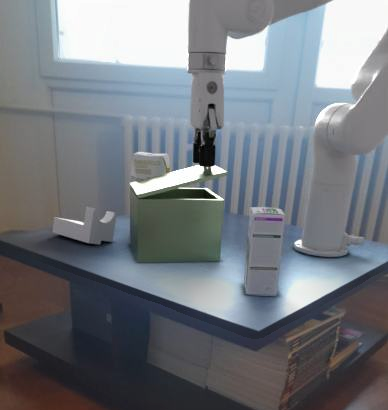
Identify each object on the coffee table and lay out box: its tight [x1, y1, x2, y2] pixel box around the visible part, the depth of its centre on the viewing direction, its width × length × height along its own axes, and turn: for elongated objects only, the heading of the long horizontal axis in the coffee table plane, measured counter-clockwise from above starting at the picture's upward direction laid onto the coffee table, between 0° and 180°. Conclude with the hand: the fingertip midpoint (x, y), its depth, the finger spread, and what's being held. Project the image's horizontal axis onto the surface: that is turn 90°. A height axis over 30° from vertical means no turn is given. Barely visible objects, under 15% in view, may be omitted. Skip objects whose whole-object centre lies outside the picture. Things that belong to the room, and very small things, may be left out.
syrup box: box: [243, 206, 286, 297], centre depth 88 cm, size 6×6×14 cm
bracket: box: [51, 206, 118, 245], centre depth 117 cm, size 13×7×8 cm, turn 51°
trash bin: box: [129, 186, 225, 264], centre depth 108 cm, size 18×15×13 cm
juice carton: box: [130, 151, 171, 183], centre depth 121 cm, size 8×9×19 cm
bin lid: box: [129, 146, 228, 199], centre depth 103 cm, size 18×15×5 cm
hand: (203, 163), depth 104 cm, fingers closed on bin lid, 5 cm apart
